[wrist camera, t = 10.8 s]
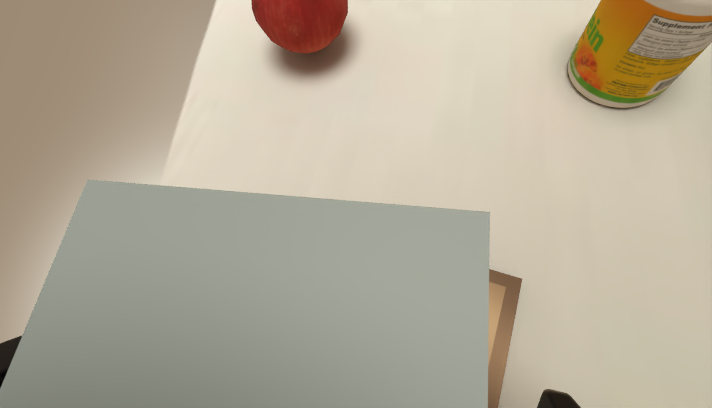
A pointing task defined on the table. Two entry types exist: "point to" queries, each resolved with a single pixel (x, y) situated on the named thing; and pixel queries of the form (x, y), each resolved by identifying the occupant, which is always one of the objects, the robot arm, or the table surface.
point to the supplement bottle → (638, 48)
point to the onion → (301, 22)
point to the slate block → (257, 305)
